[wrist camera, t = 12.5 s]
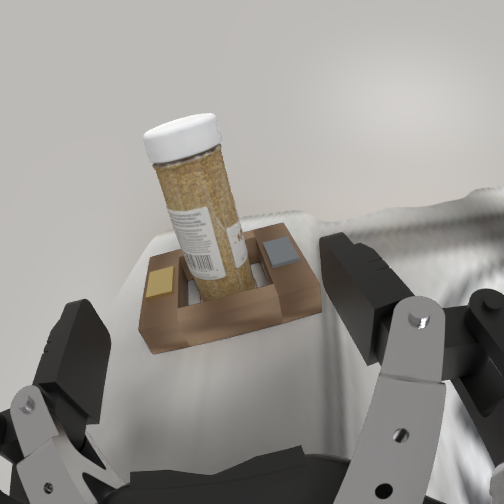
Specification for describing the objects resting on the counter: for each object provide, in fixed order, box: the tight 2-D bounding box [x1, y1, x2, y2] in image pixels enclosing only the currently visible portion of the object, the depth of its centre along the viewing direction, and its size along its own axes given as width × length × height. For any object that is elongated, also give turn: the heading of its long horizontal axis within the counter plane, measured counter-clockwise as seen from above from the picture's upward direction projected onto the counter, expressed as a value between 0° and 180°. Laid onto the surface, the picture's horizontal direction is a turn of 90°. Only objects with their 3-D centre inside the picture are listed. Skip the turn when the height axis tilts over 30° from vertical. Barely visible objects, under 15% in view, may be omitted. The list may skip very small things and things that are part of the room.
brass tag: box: [146, 266, 174, 301], centre depth 23 cm, size 2×3×1 cm, turn 10°
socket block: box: [138, 223, 322, 354], centre depth 24 cm, size 12×9×2 cm
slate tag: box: [263, 236, 300, 268], centre depth 23 cm, size 2×3×1 cm, turn 10°
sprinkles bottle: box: [143, 113, 257, 303], centre depth 21 cm, size 5×5×14 cm
